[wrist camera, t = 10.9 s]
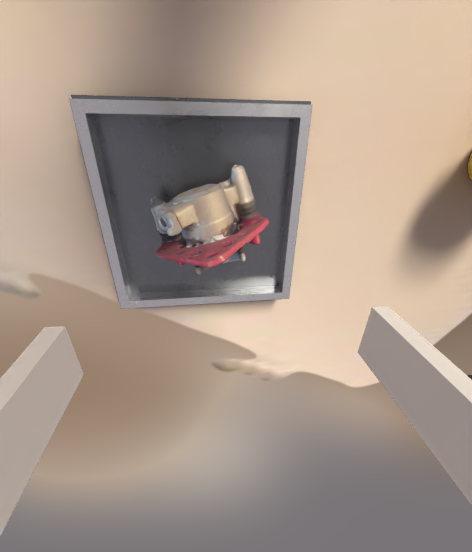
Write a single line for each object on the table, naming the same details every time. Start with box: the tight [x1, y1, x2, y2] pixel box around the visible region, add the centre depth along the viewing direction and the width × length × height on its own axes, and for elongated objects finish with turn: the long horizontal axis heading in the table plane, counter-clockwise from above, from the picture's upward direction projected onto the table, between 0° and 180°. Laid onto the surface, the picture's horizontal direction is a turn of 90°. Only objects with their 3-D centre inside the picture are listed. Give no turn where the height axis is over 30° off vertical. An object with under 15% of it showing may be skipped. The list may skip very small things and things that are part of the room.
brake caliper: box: [150, 165, 269, 274], centre depth 25 cm, size 11×11×12 cm
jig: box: [69, 95, 312, 309], centre depth 28 cm, size 22×22×3 cm
